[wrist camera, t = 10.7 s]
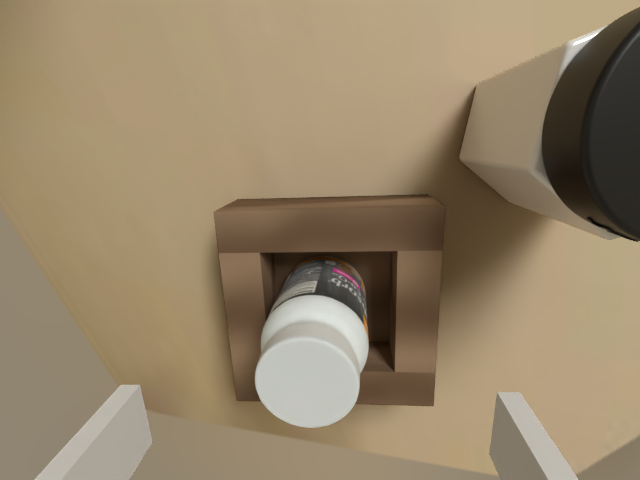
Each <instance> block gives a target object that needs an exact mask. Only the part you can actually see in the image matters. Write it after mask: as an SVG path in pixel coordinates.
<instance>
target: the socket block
mask: <svg viewBox="0 0 640 480" xmlns="http://www.w3.org/2000/svg"><path fill="white" fill-rule="evenodd" d="M214 220H215V228H216V236H217V244H218V252H219V260H220V269H221V277H222V285H223V293H224V301H225V309H226V317H227V326H228V334H229V342H230V350H231V358H232V366H233V374H234V383H235V391H236V399H237V401H261V400H260V398H259V396H258V393H257V390H256V386H255V370H256V367H257V363H258V361H259V358H260V355H261V335H262V330H263V327H264V325H265V322H266V320H267V318H268V316H269V314H270V312H271V309H272V307H273V305H274V303H275V302H276V299H277V297H278V295H279V293H280V292H281V289H282V287H283V285H284V283H285V281H286V279H287V277H288V276H289V274H290V273H291V271H292V270H293V269H294V268H295V267H296V266H297V265H298V264H300V263H301V262H303V261H304V260H306V259H309V258H312V257H316V256H332V257H336V258H339V259H341V260H343V261H345V262H347V263H349V264H350V265H351V266H352V267H353V268H354V269H355V270H356V271H357V272H358V274H359V275H360V277H361V279H362V281H363V283H364V287H365V294H366V308H367V326H368V339H369V350H368V356H367V360H366V363H365V366H364V368H363V370H362V372H361V373H360V389H359V394H358V398H357V401H356V403H355V404H372V405H408V406H434V390H435V373H436V356H437V339H438V322H439V306H440V289H441V272H442V255H443V238H444V221H445V206H444V205H442V204H441V203H439V202H438V201H436V200H435V199H433V198H432V197H431V196H429V195H389V196H350V197H311V198H272V199H237V200H236V201H234V202H232V203H230V204H228V205H226V206H224V207H222V208H220V209H218V210H216V211H214Z"/></svg>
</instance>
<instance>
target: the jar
mask: <svg viewBox="0 0 640 480" xmlns="http://www.w3.org/2000/svg"><path fill="white" fill-rule="evenodd" d="M459 159H460V161H461V162H462V163H464V164H465V165H466V166H467V167H468V168H469V169H471V170H472V171H473V172H474V173H475V174H477V175H478V176H479V177H480V178H481V179H482V180H484V181H485V182H486V183H487V184H488V185H490V186H491V187H492V188H493V189H494V190H495V191H497V192H498V193H499V194H500V195H501V196H502V197H504V198H505V199H506V200H507V201H508V202H510V203H513V204H515V205H518V206H521V207H523V208H526V209H528V210H531V211H534V212H536V213H539V214H541V215H544V216H547V217H549V218H552V219H555V220H557V221H560V222H562V223H565V224H568V225H570V226H573V227H575V228H578V229H581V230H583V231H586V232H589V233H591V234H594V235H596V236H599V237H602V238H604V239H607V240H613V239H616V238H619V237H624V238H626V239H629V240H633V241H637V242H638V241H640V7H639V8H637V9H635V10H633V11H631V12H629V13H627V14H625V15H623V16H622V17H620V18H618V19H617V20H615V21H614V22H612V23H611V24H608V25H606V26H604V27H601V28H599V29H596V30H594V31H592V32H589V33H587V34H585V35H582V36H580V37H578V38H575V39H573V40H570V41H568V42H566V43H564V44H562V45H559V46H557V47H555V48H553V49H551V50H548V51H546V52H544V53H542V54H540V55H538V56H535V57H533V58H531V59H529V60H527V61H524V62H522V63H520V64H518V65H516V66H513V67H511V68H509V69H507V70H505V71H503V72H500V73H498V74H496V75H494V76H492V77H489V78H487V79H485V80H483V81H481V82H479V83H478V84H477V86H476V90H475V94H474V98H473V102H472V106H471V111H470V115H469V119H468V123H467V127H466V131H465V135H464V139H463V143H462V147H461V151H460V155H459Z"/></svg>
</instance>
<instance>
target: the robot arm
mask: <svg viewBox="0 0 640 480" xmlns="http://www.w3.org/2000/svg"><path fill="white" fill-rule="evenodd" d="M152 443H153V442H152V437H151V433H150V428H149V424H148V419H147V415H146V410H145V406H144V401H143V397H142V392H141V388H140V385H120V386H119V387H118V389H117V390H116V391H115V392H114V393H113V394H112V395H111V396H110V397H109V398H108V400H107V401H106V402H105V403H104V404H103V405H102V406H101V407H100V408H99V409H98V410H97V412H96V413H95V414H94V415H93V416H92V417H91V418H90V419H89V420H88V422H87V423H86V424H85V425H84V426H83V427H82V428H81V429H80V430H79V432H78V433H77V434H76V435H75V436H74V437H73V438H72V439H71V440H70V441H69V442H68V443H67V444H66V446H65V447H64V448H63V449H62V450H61V451H60V452H59V453H58V454H57V455H56V457H55V458H54V459H53V460H52V461H51V462H50V463H49V464H48V465H47V466H46V468H45V469H44V470H43V471H42V472H41V473H40V474H39V475H38V476H37V477H36V479H35V480H129V479H130V477H131V475H132V474H133V473H134V471H135V469H136V468H137V466H138V465H139V463H140V462H141V460H142V458H143V457H144V455H145V454H146V452H147V450H148V449H149V447H150V446H151V444H152ZM489 454H490V456H491V459H492V461H493V463H494V465H495V468H496V470H497V472H498V474H499V477H500V479H501V480H578V478H577V477H576V475H575V474H574V472H573V471H572V469H571V468H570V466H569V465H568V463H567V462H566V460H565V459H564V457H563V456H562V454H561V453H560V451H559V450H558V448H557V447H556V445H555V444H554V442H553V441H552V440H551V438H550V437H549V435H548V434H547V432H546V431H545V429H544V428H543V426H542V425H541V423H540V422H539V420H538V419H537V417H536V416H535V414H534V413H533V411H532V410H531V408H530V407H529V405H528V404H527V402H526V401H525V399H524V398H523V396H522V395H521V393H517V392H497V397H496V405H495V413H494V421H493V429H492V437H491V445H490V453H489Z"/></svg>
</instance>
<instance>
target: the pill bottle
mask: <svg viewBox="0 0 640 480" xmlns="http://www.w3.org/2000/svg"><path fill="white" fill-rule="evenodd" d="M368 350H369V339H368V326H367V308H366V294H365V287H364V283H363V281H362V279H361V277H360V275H359V274H358V272H357V271H356V270H355V269H354V268H353V267H352V266H351V265H350V264H349V263H347V262H345V261H343V260H341V259H339V258H336V257H332V256H316V257H312V258H309V259H306V260H304V261H303V262H301V263H300V264H298V265H297V266H296V267H295V268H294V269H293V270H292V271H291V273H290V274H289V276H288V277H287V279H286V281H285V283H284V285H283V287H282V289H281V292H280V293H279V295H278V297H277V299H276V302H275V303H274V305H273V307H272V309H271V312H270V314H269V316H268V318H267V320H266V322H265V325H264V327H263V330H262V335H261V355H260V358H259V361H258V363H257V367H256V370H255V386H256V390H257V393H258V396H259V398H260V400H261V402H262V403H263V404H264V406H265V407H266V408H267V409H268V410H269V411H270V412H271V413H272V414H273V415H275V416H276V417H277V418H279V419H281V420H282V421H285V422H287V423H289V424H292V425H295V426H299V427H306V428H316V427H323V426H327V425H330V424H333V423H335V422H337V421H339V420H340V419H342V418H343V417H344V416H346V415H347V414H348V413H349V412H350V410H351V409H352V408H353V406H354V405H355V403H356V401H357V398H358V394H359V389H360V373H361V372H362V370H363V368H364V366H365V363H366V360H367V356H368Z"/></svg>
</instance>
